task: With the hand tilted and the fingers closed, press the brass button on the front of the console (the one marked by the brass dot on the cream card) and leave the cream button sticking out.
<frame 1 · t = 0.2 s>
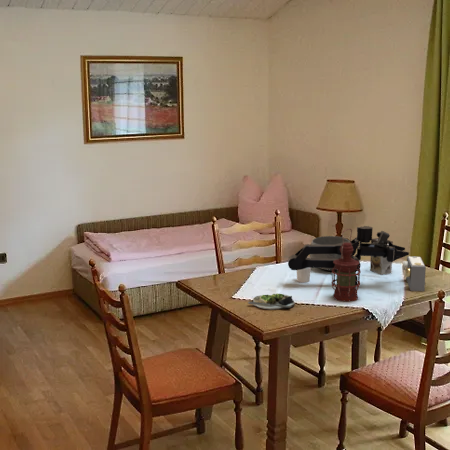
hand: (406, 251, 281), 16 cm above the table, tool horizontal, fingers open, 9 cm apart
brass button: (409, 272, 280), point 8 cm above the table, slide at 0.0 cm
lantern: (345, 298, 270), on the table
white cup: (303, 281, 296), on the table
coffee box: (380, 272, 308), on the table
console: (415, 285, 286), on the table
bowl: (330, 269, 315), on the table
cream button: (406, 265, 291), point 8 cm above the table, slide at 0.0 cm
salad plate: (274, 305, 264), on the table
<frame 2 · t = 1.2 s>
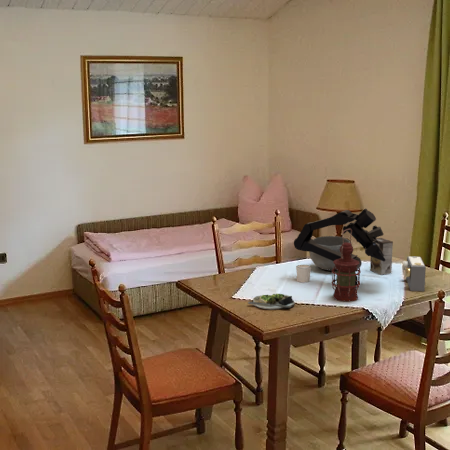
hand: (384, 258, 280), 14 cm above the table, tool tilted 45°, fingers open, 8 cm apart
nothing on the table moved.
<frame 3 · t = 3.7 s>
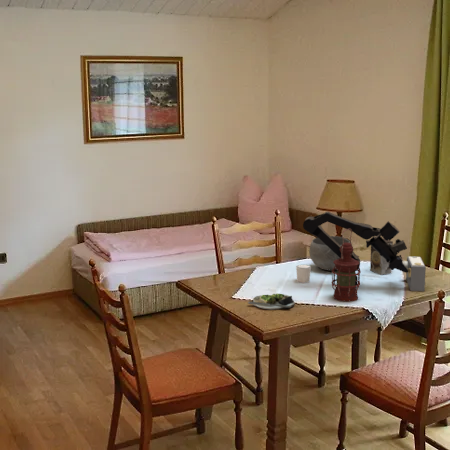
hand: (407, 272, 280), 8 cm above the table, tool tilted 45°, fingers closed, pressing on brass button
brass button: (411, 272, 279), point 8 cm above the table, slide at 1.0 cm, touching gripper
everything else where it was.
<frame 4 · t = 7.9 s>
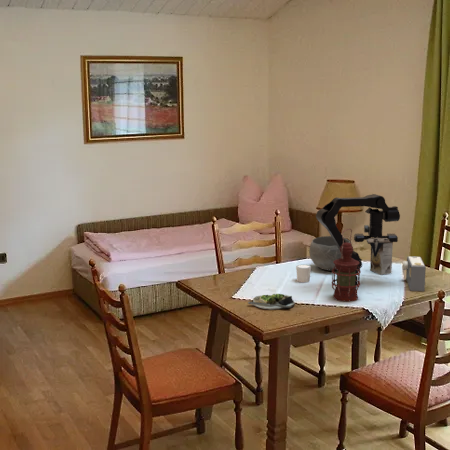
hand: (375, 256, 287), 13 cm above the table, tool pointing down, fingers closed
brass button: (413, 272, 279), point 8 cm above the table, slide at 1.8 cm
everything else where it was.
at the end: brass button slide at 1.8 cm; cream button slide at 0.0 cm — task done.
